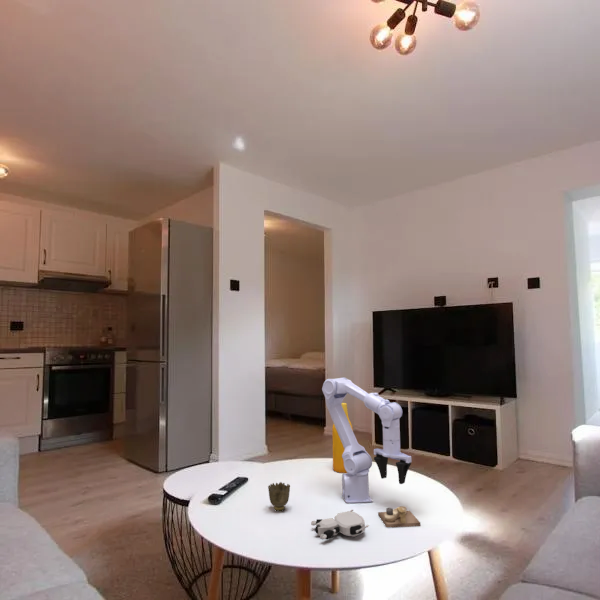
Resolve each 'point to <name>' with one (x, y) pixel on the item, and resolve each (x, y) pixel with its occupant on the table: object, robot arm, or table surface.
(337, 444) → the beer bottle
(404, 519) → the board
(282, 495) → the cup
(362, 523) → the robot toy
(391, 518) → the link
